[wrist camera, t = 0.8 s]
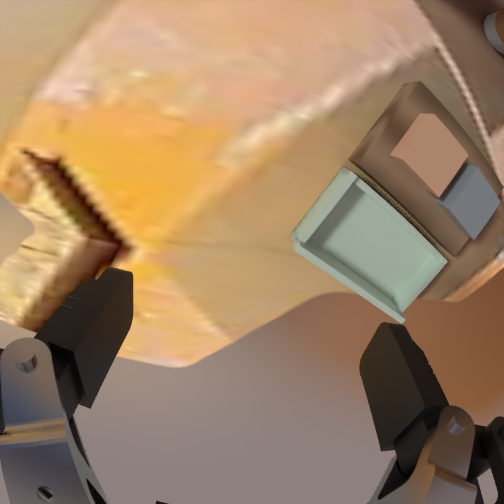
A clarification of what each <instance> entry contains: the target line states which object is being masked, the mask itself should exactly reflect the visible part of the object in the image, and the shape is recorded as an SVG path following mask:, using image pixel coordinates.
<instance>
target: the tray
mask: <svg viewBox="0 0 504 504" xmlns="http://www.w3.org/2000/svg"><path fill="white" fill-rule="evenodd" d="M291 236H292V240H293V244H294V248H295V252H297V253H298V254H300V255H301V256H303V257H304V258H306V259H307V260H309V261H310V262H312V263H313V264H315V265H316V266H318V267H319V268H321V269H322V270H324V271H325V272H327V273H328V274H330V275H331V276H333V277H334V278H336V279H337V280H339V281H340V282H342V283H343V284H345V285H346V286H347V287H349V288H350V289H352V290H353V291H355V292H356V293H358V294H359V295H361V296H362V297H364V298H365V299H367V300H368V301H370V302H371V303H372V304H374V305H375V306H377V307H378V308H379V309H381V310H383V311H384V312H385V313H387V314H388V315H390V316H391V317H392V318H394V319H395V320H397V321H398V322H400V323H401V324H402V323H403V322H404V321H405V320H406V319H405V317H404V316H403V314H402V312H403V311H404V310H405V309H406V308H407V307H408V306H409V305H410V304H411V303H412V302H413V301H414V300H415V299H416V297H417V296H418V295H419V294H420V293H421V292H422V291H423V290H424V289H425V288H426V286H427V285H428V284H429V283H430V282H431V281H432V280H433V278H434V277H435V276H436V275H437V274H438V273H439V271H440V270H441V269H442V268H443V267H444V265H445V264H446V263H447V262H448V261H447V260H446V259H445V258H444V257H443V256H442V255H441V254H440V253H439V252H438V251H437V250H436V249H435V248H434V247H433V246H432V245H431V244H430V243H429V242H428V241H427V240H426V239H425V238H424V237H423V236H422V235H421V234H420V233H419V232H418V231H417V230H416V229H415V228H414V227H413V226H412V225H411V224H410V223H409V222H408V221H407V220H406V219H405V218H404V217H403V216H402V215H401V214H399V213H398V212H397V211H396V210H395V209H394V208H393V207H392V206H391V205H390V204H389V203H387V202H386V201H385V200H384V199H383V198H382V197H381V196H380V195H379V194H377V193H376V192H375V191H374V190H373V189H372V188H370V187H369V186H368V185H367V184H366V183H365V182H363V181H362V180H361V179H360V178H359V177H357V175H355V174H354V173H353V172H352V171H350V170H348V169H347V168H345V167H344V166H343V167H342V168H341V170H340V171H339V172H338V174H337V175H336V176H335V177H334V179H333V180H332V181H331V183H330V184H329V185H328V187H327V188H326V189H325V190H324V192H323V193H322V194H321V196H320V197H319V198H318V200H317V201H316V202H315V203H314V205H313V206H312V207H311V209H310V210H309V211H308V212H307V214H306V215H305V216H304V218H303V219H302V220H301V221H300V223H299V224H298V225H297V227H296V228H295V229H294V230H293V232H292V233H291Z"/></svg>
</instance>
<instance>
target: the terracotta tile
mask: <svg viewBox="0 0 504 504" xmlns="http://www.w3.org/2000/svg"><path fill="white" fill-rule="evenodd" d="M390 156H392V157H393V158H394V159H395V160H396V161H397V162H398V163H399V164H400V165H401V166H402V167H403V168H404V169H405V170H406V171H407V172H408V173H409V174H410V175H411V176H412V177H413V178H414V179H415V180H416V181H417V182H418V183H419V184H420V185H421V186H422V187H423V188H424V189H425V190H426V191H428V192H430V193H431V194H433V195H435V196H437V197H440V195H441V194H442V193H443V191H444V190H445V189H446V187H447V186H448V184H449V183H450V182H451V180H452V179H453V177H454V176H455V174H456V173H457V172H458V170H459V169H460V167H461V166H462V164H463V163H464V161H465V160H466V158H467V157H468V154H467V152H466V151H465V150H464V148H463V147H462V146H461V145H460V143H459V142H458V141H457V140H456V138H455V137H454V136H453V135H452V134H451V132H450V131H449V130H448V129H447V128H446V127H445V125H444V124H443V123H442V122H441V121H440V120H439V119H438V117H437V116H436V115H435V114H425V113H420V114H419V115H418V117H417V118H416V120H415V121H414V122H413V124H412V125H411V127H410V128H409V129H408V131H407V132H406V133H405V135H404V136H403V138H402V139H401V140H400V142H399V143H398V144H397V146H396V147H395V148H394V150H393V151H392V153H391V154H390Z"/></svg>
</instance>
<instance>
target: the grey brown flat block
mask: <svg viewBox="0 0 504 504" xmlns="http://www.w3.org/2000/svg"><path fill="white" fill-rule="evenodd" d="M420 113H425V114H435V115H436V116H437V117H438V119H439V120H440V121H441V122H442V123H443V124H444V125H445V127H446V128H447V129H448V130H449V131H450V132H451V134H452V135H453V136H454V137H455V138H456V140H457V141H458V142H459V143H460V145H461V146H462V147H463V148H464V150H465V151H466V152H467V154H468V157H467V158H466V160H465V161H464V163H466V164H469V165H472V166H475V167H478V168H479V170H480V171H481V173H482V174H483V175H484V177H485V178H486V180H487V181H488V183H489V184H490V186H491V187H492V189H493V190H494V192H495V193H496V195H497V197H498V196H499V194H500V193H501V191H502V190H503V188H504V187H503V185H502V184H501V182H500V180H499V179H498V177H497V176H496V174H495V173H494V171H493V169H492V168H491V166H490V165H489V164H488V162H487V161H486V159H485V158H484V156H483V155H482V153H481V152H480V151H479V149H478V148H477V147H476V145H475V144H474V142H473V141H472V140H471V138H470V137H469V136H468V135H467V133H466V132H465V131H464V129H463V128H462V127H461V126H460V124H459V123H458V122H457V121H456V120H455V118H454V117H453V116H452V115H451V114H450V112H449V111H448V110H447V109H446V108H445V107H444V106H443V104H442V103H441V102H440V101H439V100H438V99H437V98H436V97H435V96H434V95H433V94H432V92H431V91H430V90H429V89H428V88H427V87H426V86H425V85H424V84H423V83H422V82H421V81H419V82H413V83H407V84H404V85H403V87H402V88H401V89H400V91H399V92H398V93H397V95H396V96H395V98H394V99H393V100H392V102H391V103H390V104H389V106H388V107H387V108H386V110H385V111H384V112H383V114H382V115H381V116H380V118H379V119H378V120H377V122H376V123H375V125H374V126H373V127H372V129H371V130H370V131H369V133H368V134H367V135H366V137H365V138H364V139H363V141H362V142H361V143H360V145H359V146H358V147H357V148H356V150H355V151H354V152H353V154H352V155H351V156H350V158H349V159H348V160H350V161H351V162H352V163H353V164H354V165H356V166H357V167H358V168H359V169H360V170H362V171H363V172H364V173H365V174H366V175H367V176H369V177H370V178H371V179H372V180H373V181H374V182H376V183H377V184H378V185H379V186H380V187H381V188H382V189H383V190H384V191H386V192H387V193H388V194H389V195H390V196H391V197H392V198H393V199H394V200H395V201H396V202H398V203H399V204H400V205H401V206H402V207H403V208H404V209H405V210H406V211H407V212H408V213H409V214H410V215H411V216H412V217H413V218H414V219H415V220H416V221H417V222H418V223H419V224H420V225H421V226H422V227H423V228H424V229H425V230H426V231H427V232H428V233H429V234H430V235H431V236H432V237H433V238H434V239H435V240H436V241H437V242H438V243H439V244H440V245H441V246H442V247H443V248H444V249H445V250H447V251H448V252H449V253H450V254H451V255H452V256H453V257H455V256H456V255H457V253H458V252H459V251H460V250H461V248H462V247H463V246H464V244H465V243H466V242H467V240H468V239H469V238H470V237H469V236H468V235H466V234H465V233H463V232H462V231H461V230H460V229H459V228H458V227H457V225H456V224H455V223H454V222H453V221H452V219H451V218H450V217H449V216H448V215H447V214H446V212H445V211H444V210H443V209H442V208H441V207H440V206H439V204H438V203H437V202H436V200H437V198H438V197H437V196H435V195H433V194H431V193H430V192H428V191H426V190H425V189H424V188H423V187H422V186H421V185H420V184H419V183H418V182H417V181H416V180H415V179H414V178H413V177H412V176H411V175H410V174H409V173H408V172H407V171H406V170H405V169H404V168H403V167H402V166H401V165H400V164H399V163H398V162H397V161H396V160H395V159H394V158H393V157H392V156H390V154H391V153H392V151H393V150H394V148H395V147H396V146H397V144H398V143H399V142H400V140H401V139H402V138H403V136H404V135H405V133H406V132H407V131H408V129H409V128H410V127H411V125H412V124H413V122H414V121H415V120H416V118H417V117H418V115H419V114H420Z"/></svg>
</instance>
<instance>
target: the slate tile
mask: <svg viewBox="0 0 504 504" xmlns="http://www.w3.org/2000/svg"><path fill="white" fill-rule="evenodd" d="M436 202H437V203H438V204H439V206H440V207H441V208H442V209H443V210H444V211H445V212H446V214H447V215H448V216H449V217H450V218H451V219H452V221H453V222H454V223H455V224H456V225H457V227H458V228H459V229H460V230H461V231H462V232H463V233H465V234H466V235H468V236H469V237H470V238H472V239H473V240H475V238H476V237H477V236H478V234H479V233H480V232H481V230H482V229H483V227H484V226H485V225H486V223H487V222H488V220H489V219H490V217H491V216H492V214H493V213H494V212H495V210H496V209H497V207H498V205H499V204H500V202H501V201H500V200H499V198H498V197H497V195H496V193H495V192H494V190H493V189H492V187H491V186H490V184H489V183H488V181H487V180H486V178H485V177H484V175H483V174H482V173H481V171H480V170H479V168H478V167H475V166H472V165H469V164H466V163H463V164H462V166H461V167H460V169H459V170H458V172H457V173H456V174H455V176H454V177H453V179H452V180H451V182H450V183H449V184H448V186H447V187H446V189H445V190H444V191H443V193H442V194H441V195H440V197H438V198H437V200H436Z"/></svg>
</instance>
